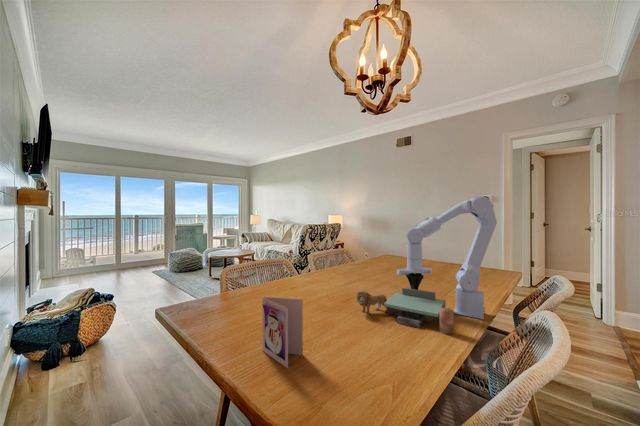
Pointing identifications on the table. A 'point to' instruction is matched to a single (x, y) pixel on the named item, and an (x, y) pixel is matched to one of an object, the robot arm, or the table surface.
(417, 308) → the lid
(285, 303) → the greeting card
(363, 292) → the lion figurine
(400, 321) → the dark grey box base
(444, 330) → the key peg
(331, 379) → the table surface
